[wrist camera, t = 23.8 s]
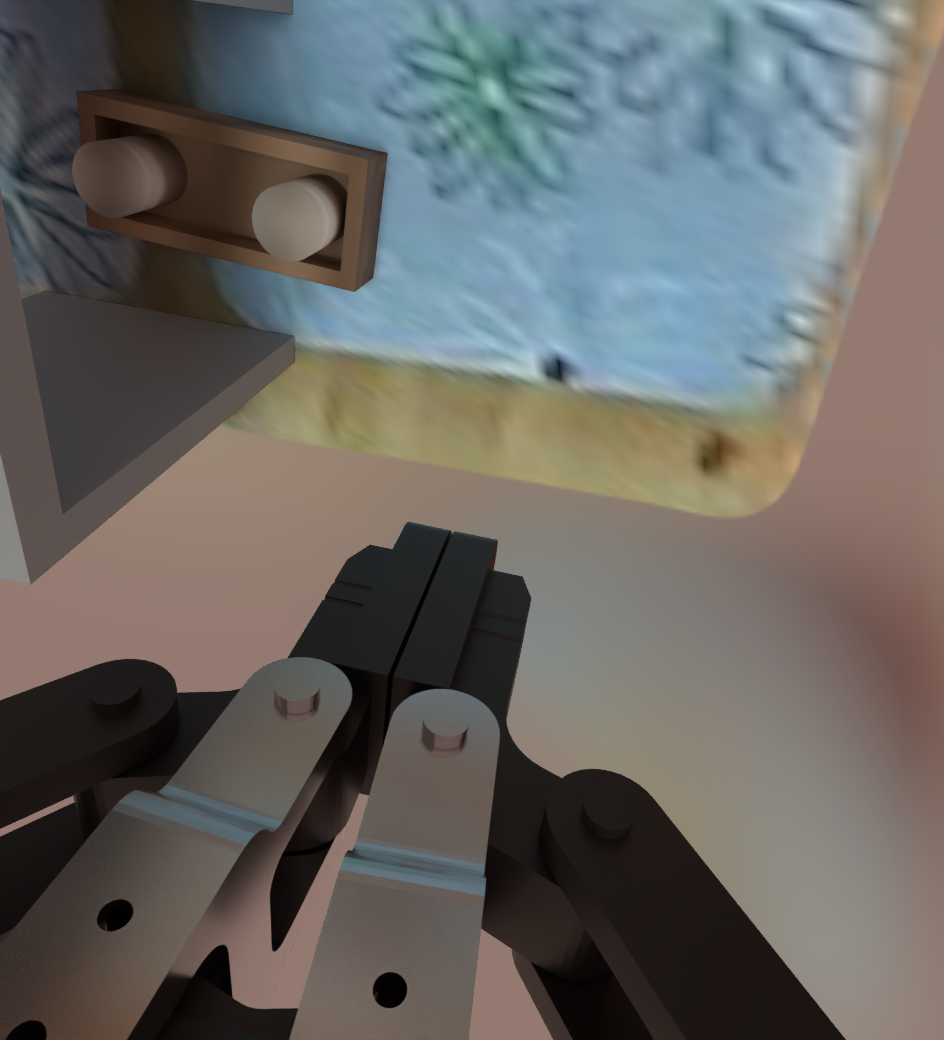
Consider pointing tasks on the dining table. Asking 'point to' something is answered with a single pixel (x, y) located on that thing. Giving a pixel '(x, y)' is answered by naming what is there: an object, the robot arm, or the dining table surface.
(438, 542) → the robot arm
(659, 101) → the dining table surface
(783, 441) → the dining table surface
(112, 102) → the tray
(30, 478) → the grey hollow frame
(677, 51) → the dining table surface
